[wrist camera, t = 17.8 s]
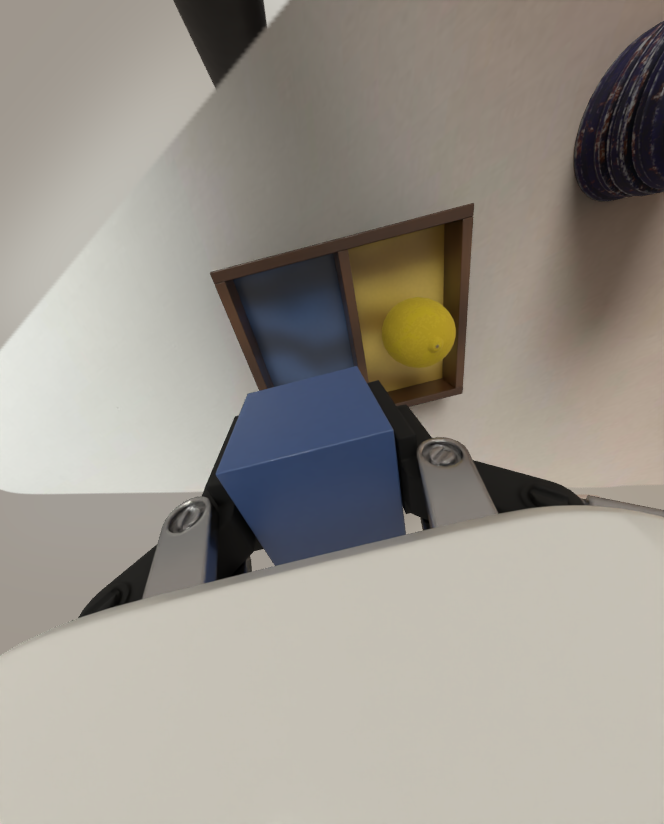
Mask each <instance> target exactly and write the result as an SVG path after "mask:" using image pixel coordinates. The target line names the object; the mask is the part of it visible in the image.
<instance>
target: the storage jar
mask: <svg viewBox="0 0 664 824" xmlns="http://www.w3.org/2000/svg"><path fill="white" fill-rule="evenodd" d="M574 167H575V174H576V178H577V181H578V184H579V186H580V188H581V189H582V191H583V192H584V193H585V194H586V195H587V196H588V197H590V198H592V199H594V200H598V201H612V200H616V199H621V198H625V197H632V196H645V195H650V194H655V193H660V192H664V21H663V22H661V23H659V24H658V25H656V26H655V27H653V28H652V29H650V30H648V31H647V32H645V33H644V34H642V35H641V36H640V37H638V38H637V39H636V40H635V41H634V42H633V43H631V44H630V45H629V46H628V47H627V48H626V49H625V50H624V51H623V52H622V53H621V54H620V55H619V57H618V58H617V59H616V60H615V61H614V63H613V64H612V65H611V67H610V68H609V69H608V70H607V72H606V73H605V75H604V77H603V78H602V80H601V81H600V83H599V84H598V86H597V88H596V90H595V92H594V93H593V95H592V97H591V99H590V101H589V104H588V106H587V108H586V110H585V113H584V115H583V118H582V121H581V124H580V127H579V131H578V135H577V140H576V146H575V153H574Z"/></svg>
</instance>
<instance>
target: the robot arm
mask: <svg viewBox="0 0 664 824" xmlns="http://www.w3.org/2000/svg"><path fill="white" fill-rule="evenodd" d="M367 384H368V386H369V388H370V390H371V391H372V393H373V395H374V397H375V398H376V400H377V402H378V404H379V405H380V407H381V409H382V411H383V412H384V414H385V416H386V418H387V419H388V421H389V423H390V425H391V426H392V428H393V430H394V438H395V447H396V455H397V464H398V472H399V481H400V489H401V497H402V506H403V508H404V510H405V513H406V514H408V513H412V514H414V515H416V516H419V517H421V523H422V529H423V531H420V532H415V533H411V534H407V535H402V536H398V537H394V538H390V539H386V540H381V541H377V542H373V543H369V544H364V545H360V546H356V547H352V548H348V549H344V550H339V551H335V552H331V553H327V554H323V555H319V556H315V557H310V558H306V559H302V560H298V561H294V562H290V563H286V564H282V565H278V566H274V567H270V568H265V569H261V570H257V571H253V572H252V568H251V559H250V555H251V554H252V553H253V552H254V551H257V550H261V549H264V548H263V547H262V545H261V544H260V542H259V541H258V539H257V537H256V536H255V534H254V533H253V531H252V530H251V528H250V527H249V525H248V524H247V522H246V521H245V519H244V518H243V516H242V514H241V513H240V511H239V510H238V508H237V507H236V505H235V504H234V502H233V501H232V499H231V498H230V496H229V495H228V493H227V491H226V490H225V488H224V487H223V485H222V484H221V482H220V481H219V479H218V478H217V476H216V472H217V469H218V467H219V464H220V462H221V459H222V457H223V454H224V452H225V449H226V447H227V444H228V442H229V439H230V437H231V434H232V432H233V429H234V427H235V424H236V422H237V419H238V417H239V416H235V418H234V420H233V423H232V425H231V427H230V430H229V432H228V434H227V437H226V439H225V441H224V444H223V446H222V449H221V451H220V453H219V456H218V458H217V460H216V463H215V465H214V467H213V470H212V472H211V475H210V477H209V479H208V482H207V484H206V486H205V489H204V492H203V494H202V496H201V497H195V498H191V499H189V500H187V501H185V502H183V503H182V504H180V505H179V506H178V507H176V508H175V509H174V510H173V511H172V512H171V513H170V514H169V516H168V517H167V518H166V520H165V522H164V524H163V526H162V530H161V533H160V537H159V540H158V544H157V545H156V546H155V547H153V548H152V549H151V550H150V551H148V552H147V553H146V554H145V555H144V556H142V557H141V558H140V559H139V560H138V561H136V562H135V563H134V564H133V565H132V566H130V567H129V568H128V569H127V570H126V571H124V572H123V573H122V574H121V575H119V576H118V577H117V578H116V579H115V580H113V581H112V582H111V583H110V584H108V585H107V586H106V587H105V588H104V589H102V590H101V591H100V592H99V593H98V594H97V595H96V596H95V597H94V598H93V599H92V600H91V601H90V602H89V604H88V605H87V606H86V607H85V608H84V610H83V611H82V613H81V614H80V616H79V617H78V619H75V620H72V621H70V622H68V623H65V624H63V625H60V626H57V627H55V628H53V629H50V630H48V631H46V632H44V633H42V634H39V635H37V636H35V637H33V638H31V639H29V640H27V641H25V642H23V643H21V644H19V645H17V646H16V647H14V648H12V649H10V650H9V651H7V652H5V653H3V654H2V655H0V824H664V510H660V509H655V508H650V507H645V506H640V505H635V504H630V503H625V502H620V501H615V500H610V499H605V498H600V497H595V496H590V495H588V496H587V498H586V499H581V498H579V497H578V496H577V495H576V494H574V493H573V492H572V491H571V490H569V489H567V488H565V487H564V486H562V485H559V484H557V483H554V482H551V481H548V480H544V479H540V478H537V477H533V476H529V475H526V474H522V473H518V472H515V471H511V470H507V469H503V468H500V467H496V466H492V465H489V464H485V463H481V462H478V461H474V460H472V458H471V456H470V454H469V452H468V450H467V449H466V447H465V446H464V445H463V444H461V443H460V442H458V441H456V440H453V439H449V438H444V437H436V438H432V437H431V436H430V435H429V433H428V432H427V431H426V429H425V428H424V427H423V426H422V424H421V423H420V422H419V420H418V419H417V418H416V416H415V415H414V414H413V412H412V411H411V410H410V409H409V407H408V406H407V405H406V404H404V405H400V406H396V404H395V403H394V402H393V400H392V399H391V397H390V396H389V394H388V393H387V391H386V390H385V388H384V387H383V386H382V384H381V383H380V381H379V380H377V381H373V382H369V383H367Z"/></svg>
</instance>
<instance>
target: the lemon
mask: <svg viewBox="0 0 664 824" xmlns="http://www.w3.org/2000/svg"><path fill="white" fill-rule="evenodd" d="M455 337H456V327H455V323H454V320H453V318H452V316H451V314H450V313H449V311H448V310H447V309H446V308H445V307H443V306H442V305H441V304H440V303H439V302H436V301H434V300H432V299H429V298H423V297H414V298H409V299H406V300H404V301H402V302H400V303H398V304H397V305H395V306H394V307H393V308H392V309H391V310H390V311H389V313H388V314H387V316H386V318H385V320H384V322H383V326H382V341H383V344H384V347H385V349H386V350H387V352H388V354H389V355H390V356H391V357H392V358H393V359H394V360H396V361H397V362H399V363H401V364H403V365H405V366H408V367H414V368H425V367H429V366H432V365H434V364H436V363H438V362H440V361H441V360H442V359H443V358H444V357H446V355H447V354H448V353H449V352H450V350H451V348H452V346H453V344H454V341H455Z"/></svg>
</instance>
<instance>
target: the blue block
mask: <svg viewBox="0 0 664 824" xmlns="http://www.w3.org/2000/svg"><path fill="white" fill-rule="evenodd" d="M216 476H217V478H218V479H219V481H220V482H221V484H222V485H223V487H224V488H225V490H226V491H227V493H228V495H229V496H230V498H231V499H232V501H233V502H234V504H235V505H236V507H237V508H238V510H239V511H240V513H241V514H242V516H243V518H244V519H245V521H246V522H247V524H248V525H249V527H250V528H251V530H252V531H253V533H254V534H255V536H256V537H257V539H258V541H259V542H260V544H261V545H262V547H263V548H264V550H265V551H266V553H267V554H268V556H269V557H270V559H271V560H272V562H273V563H274V565H275V566H278V565H282V564H286V563H290V562H294V561H298V560H302V559H306V558H310V557H315V556H319V555H323V554H327V553H331V552H335V551H339V550H344V549H348V548H352V547H356V546H360V545H364V544H369V543H373V542H377V541H381V540H386V539H390V538H394V537H398V536H402V535H406V531H405V523H404V515H403V506H402V497H401V489H400V481H399V472H398V464H397V455H396V447H395V438H394V430H393V428H392V426H391V425H390V423H389V421H388V419H387V418H386V416H385V414H384V412H383V411H382V409H381V407H380V405H379V404H378V402H377V400H376V398H375V397H374V395H373V393H372V391H371V390H370V388H369V386H368V384H367V383H366V381H365V379H364V377H363V376H362V374H361V372H360V370H359V369H358V367H357V366H355V367H351V368H347V369H343V370H339V371H335V372H331V373H327V374H323V375H319V376H316V377H312V378H308V379H304V380H300V381H296V382H292V383H288V384H284V385H280V386H277V387H273V388H269V389H265V390H261V391H257V392H253V393H249V394H247V397H246V399H245V402H244V404H243V407H242V409H241V412H240V414H239V417H238V419H237V422H236V424H235V427H234V429H233V432H232V434H231V437H230V439H229V442H228V444H227V447H226V449H225V452H224V454H223V457H222V459H221V462H220V464H219V467H218V469H217V472H216Z"/></svg>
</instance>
